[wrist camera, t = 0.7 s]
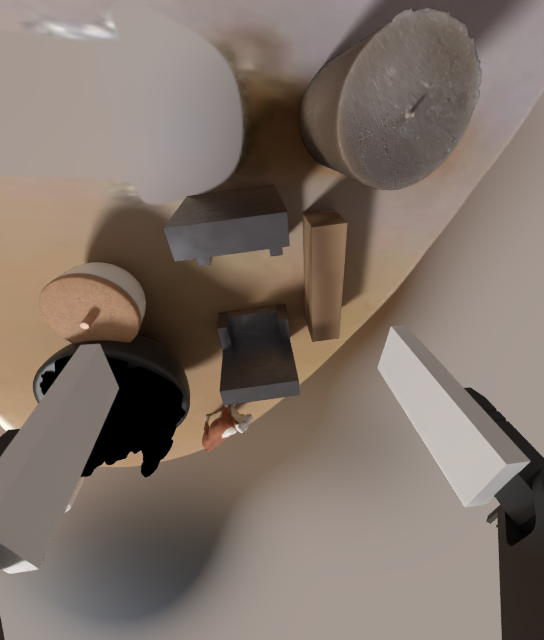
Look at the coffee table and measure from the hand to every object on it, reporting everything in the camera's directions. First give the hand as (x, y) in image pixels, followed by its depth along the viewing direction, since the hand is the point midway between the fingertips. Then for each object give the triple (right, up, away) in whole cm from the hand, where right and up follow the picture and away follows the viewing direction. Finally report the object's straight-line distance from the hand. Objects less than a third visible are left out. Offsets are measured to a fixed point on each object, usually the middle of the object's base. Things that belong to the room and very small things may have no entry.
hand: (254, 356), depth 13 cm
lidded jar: (-21, +7, +26) cm, 34 cm away
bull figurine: (-9, -16, +44) cm, 48 cm away
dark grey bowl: (-22, -4, +33) cm, 40 cm away
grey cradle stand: (-3, +7, +27) cm, 28 cm away
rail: (+8, +9, +27) cm, 30 cm away
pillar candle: (+9, +24, +16) cm, 30 cm away
